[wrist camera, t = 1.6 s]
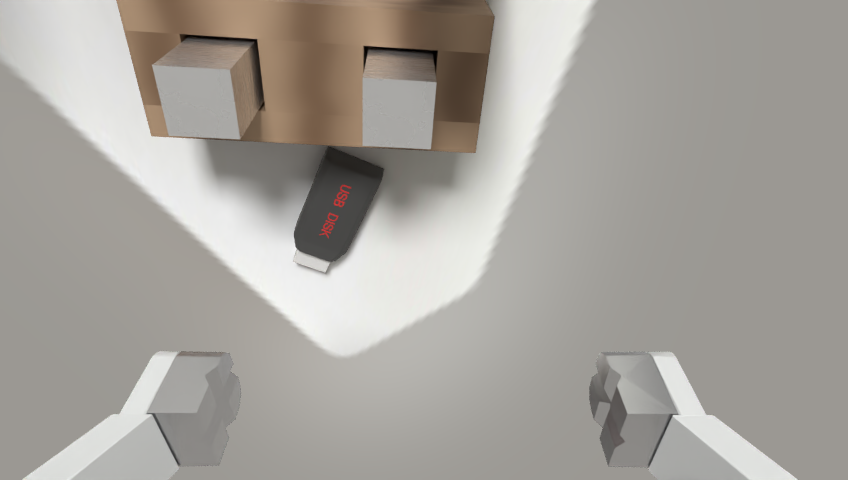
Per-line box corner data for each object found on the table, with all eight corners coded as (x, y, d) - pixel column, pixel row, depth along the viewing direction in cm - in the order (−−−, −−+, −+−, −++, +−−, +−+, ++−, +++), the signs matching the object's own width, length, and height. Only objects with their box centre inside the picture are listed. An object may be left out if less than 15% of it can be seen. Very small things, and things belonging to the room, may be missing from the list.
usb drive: (384, 166, 46) (382, 182, 44) (337, 263, 52) (334, 280, 50) (328, 144, 44) (324, 158, 42) (287, 245, 51) (281, 263, 48)
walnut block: (191, 93, 41) (151, 136, 35) (166, -32, 36) (113, -10, 29) (465, 109, 42) (475, 153, 36) (479, -10, 37) (494, 16, 31)
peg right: (369, 101, 36) (362, 145, 30) (370, 42, 33) (362, 77, 28) (427, 105, 36) (430, 149, 30) (431, 46, 34) (436, 82, 28)
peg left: (207, 92, 35) (168, 135, 29) (196, 31, 33) (152, 65, 27) (267, 95, 35) (240, 139, 30) (260, 35, 33) (229, 69, 27)
